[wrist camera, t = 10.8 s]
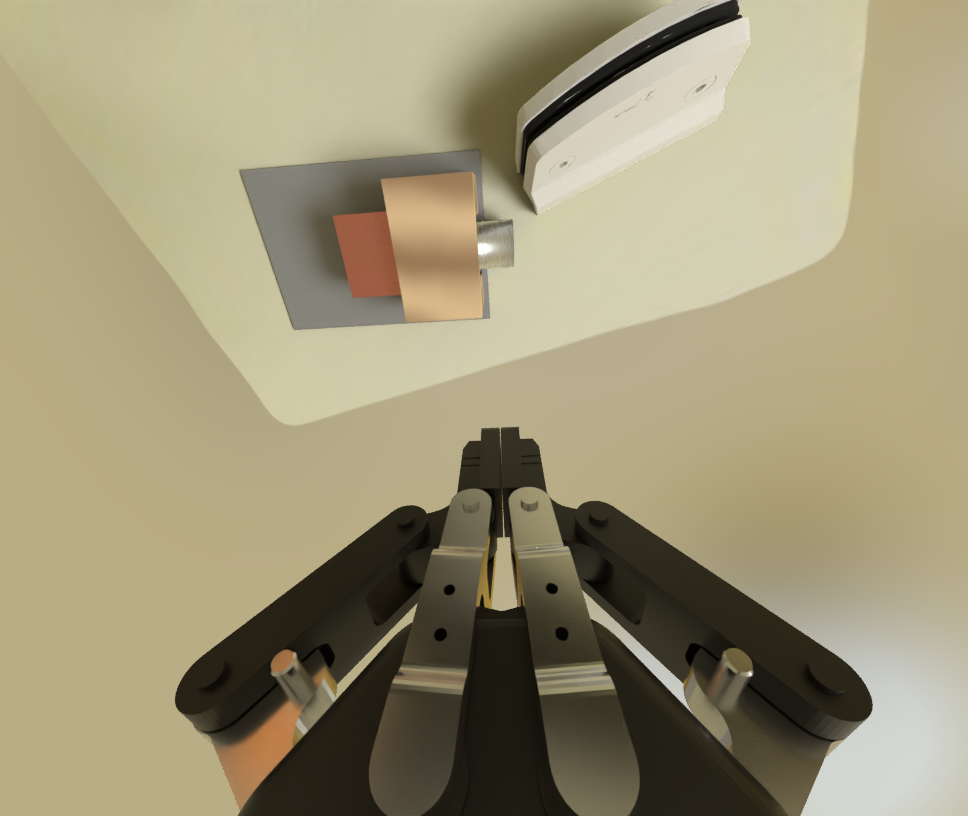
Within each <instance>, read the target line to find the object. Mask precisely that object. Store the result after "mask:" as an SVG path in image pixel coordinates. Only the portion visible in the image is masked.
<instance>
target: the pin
mask: <svg viewBox="0 0 968 816" xmlns="http://www.w3.org/2000/svg"><path fill="white" fill-rule="evenodd" d="M333 220H334V224H335V228H336V232H337V236H338V240H339V244H340V249H341V253H342V257H343V261H344V265H345V269H346V273H347V277H348V281H349V285H350V289H351V293H352V297H353V298H361V297H377V296H392V295H401V290H400V284H399V279H398V273H397V267H396V262H395V256H394V251H393V245H392V239H391V234H390V228H389V223H388V217H387V211H380V212H367V213H354V214H343V215H334V216H333ZM476 226H477V240H478V254H479V268H480V269H490V268H505V267H514V238H513V221H512V219H509V220H496V221H483V222H476Z"/></svg>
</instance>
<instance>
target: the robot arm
mask: <svg viewBox="0 0 968 816" xmlns="http://www.w3.org/2000/svg"><path fill="white" fill-rule="evenodd" d="M501 459H502V465H501ZM502 495H503V511H502ZM503 512H504V530H505V537H510V543H511V560H512V568H513V576H514V584H515V592H516V600H517V607H516V608H513V609H509V610H506V611H498V610H494V609H492V597H493V585H494V575H495V563H496V550H497V538H498V537H503ZM582 590H583V591H584V592H585V593H586V594H587V595H589V596H590V597H591V598H592V599H593V600H594V601H595V602H596V603H597V604H598V605H599V606H600V607H601V608H602V609H604V610H605V611H606V612H607V613H608V614H609V615H610V616H611V617H612V618H613V619H614V620H615V621H617V622H618V623H619V624H620V625H621V626H622V627H623V628H624V629H625V630H626V631H627V632H628V633H630V634H631V635H632V636H633V637H634V638H635V639H636V640H637V641H638V642H639V643H640V644H641V645H642V646H643V647H645V648H646V649H647V650H648V651H649V652H650V653H651V654H652V655H653V656H654V657H655V658H656V659H657V660H659V661H660V662H661V663H662V664H663V665H664V666H665V667H666V668H667V669H668V670H669V671H671V673H673V674H674V675H675V676H676V677H677V678H678V679H679V680H680V681H681V682H682V683H683V684H684V687H683V688H684V696H685V699H686V702H687V704H688V706H689V708H690V710H691V712H692V713H693V714H692V713H691V712H690V711H689V710H688V709H687V708H686V707H685V706H684V705H683V704H682V703H681V702H680V701H679V700H678V699H677V698H676V697H675V696H674V695H673V694H672V693H671V691H669V690H668V689H667V688H666V686H664V684H663V683H662V682H661V681H660V680H659V679H658V678H657V677H656V676H655V675H654V674H652V672H651V671H650V670H649V669H648V668H647V667H646V666H645V665H644V664H643V663H642V662H641V661H640V660H639V659H638V658H637V657H636V656H635V655H634V654H633V653H632V652H631V651H630V650H629V649H628V648H627V647H626V646H625V645H624V644H623V643H622V642H621V641H620V640H619V639H618V638H617V637H616V636H615V635H614V634H613V633H611V632H610V631H609V630H608V629H607V628H605V627H604V626H602V625H601V624H599V623H598V622H596V621H594V620H592V619H590V615H589V612H588V609H587V606H586V602H585V599H584V595H583V592H582ZM417 603H418V604H417ZM416 604H417V608H416V612H415V616H414V619H413V622H412V623H410V624H409V625H407V626H406V627H405V628H403V629H402V630H401V631H400V632H398V633H397V634H396V635H395V636H394V637H393V638H392V639H391V640H390V641H389V642H388V643H387V645H386V646H385V647H384V648H383V649H382V650H381V651H380V652H379V653H378V655H377V656H376V657H375V658H374V659H373V660H372V661H371V662H370V663H369V665H367V667H366V668H365V669H364V670H363V671H362V672H361V673H360V674H359V675H358V677H357V678H356V679H355V680H354V681H353V682H352V683H351V684H350V685H349V687H348V688H347V689H346V690H345V691H344V692H343V693H342V694H341V695H340V696H339V697H338V698H337V700H336V701H335V702H334V700H335V697H336V692H337V684H338V683H339V682H340V681H341V680H342V679H343V678H344V677H345V676H346V675H347V674H348V673H349V672H350V670H352V669H353V668H354V667H355V665H357V664H358V663H359V661H361V660H362V659H363V658H364V657H365V655H366V654H367V653H368V652H369V651H370V650H371V649H372V648H373V647H374V646H375V645H376V644H377V643H378V642H379V641H380V640H381V639H382V638H383V637H384V636H385V635H386V634H387V633H388V632H389V631H390V630H391V629H392V628H393V627H394V626H395V625H396V624H397V623H398V622H399V621H400V620H401V619H402V618H403V617H404V616H405V615H406V614H407V613H408V612H409V611H410V610H411V609H412V608H413V607H414V606H415V605H416ZM175 704H176V707H177V709H178V710H179V711H180V712H181V713H182V714H183V715H184V716H185V717H186V718H188V719H189V720H190V721H191V722H192V723H193V725H194V728H195V729H196V730H197V731H198V732H199V733H200V734H201V735H202V736H203V737H205V738H206V739H207V740H208V741H209V742H210V743H211V744H212V745H213V746H214V748H215V750H216V752H217V755H218V757H219V760H220V762H221V765H222V767H223V769H224V772H225V775H226V777H227V779H228V782H229V784H230V787H231V789H232V792H233V794H234V796H235V799H236V802H237V804H238V806H239V809H240V813H239V815H238V816H800V815H801V813H802V810H803V808H804V806H805V803H806V801H807V799H808V796H809V794H810V791H811V789H812V786H813V784H814V782H815V780H816V777H817V775H818V773H819V770H820V768H821V766H822V763H823V761H824V758H825V757H826V756H828V755H829V753H831V752H832V751H833V750H834V749H835V748H836V747H837V746H838V745H839V744H840V743H841V742H842V741H843V740H845V739H846V738H847V736H849V735H850V734H851V733H852V732H853V731H854V730H855V729H856V728H857V727H858V726H859V725H860V724H862V723H863V722H864V721H865V720H866V719H867V718H868V717H869V715H870V714H871V712H872V706H873V704H872V698H871V696H870V693H869V691H868V689H867V687H866V685H865V684H864V682H863V681H862V679H861V678H860V677H859V675H858V674H857V673H856V672H855V671H854V670H853V669H852V668H851V667H850V666H849V665H848V664H847V663H846V662H844V661H843V660H842V659H841V658H839V657H838V656H837V655H835V654H834V653H832V652H831V651H829V650H828V649H826V648H824V647H823V646H822V645H820V644H819V643H817V642H815V641H814V640H813V639H811V638H810V637H808V636H807V635H805V634H804V633H802V632H801V631H799V630H798V629H796V628H794V627H793V626H792V625H790V624H788V623H787V622H786V621H784V620H783V619H781V618H780V617H778V616H777V615H775V614H774V613H772V612H771V611H769V610H768V609H766V608H764V607H763V606H762V605H760V604H758V603H757V602H755V601H754V600H753V599H751V598H749V597H748V596H746V595H745V594H744V593H742V592H740V591H739V590H738V589H736V588H735V587H733V586H732V585H730V584H728V583H727V582H726V581H724V580H722V579H721V578H720V577H718V576H717V575H715V574H714V573H712V572H710V571H709V570H708V569H706V568H704V567H703V566H701V565H700V564H698V563H697V562H696V561H694V560H692V559H691V558H690V557H688V556H686V555H685V554H684V553H682V552H681V551H679V550H678V549H676V548H675V547H673V546H672V545H670V544H669V543H667V542H666V541H664V540H663V539H661V538H659V537H658V536H656V535H655V534H653V533H652V532H650V531H649V530H647V529H646V528H644V527H643V526H641V525H640V524H638V523H637V522H635V521H634V520H632V519H631V518H629V517H628V516H626V515H625V514H623V513H622V512H620V511H619V510H617V509H616V508H614V507H613V506H611V505H609V504H607V503H604V502H600V501H589V502H586V503H583V504H581V505H580V506H579V507H578V509H573V508H569V507H565V506H562V505H560V504H558V503H556V502H555V501H553V500H552V499H551V498H550V497H549V495H548V494H547V491H546V485H545V479H544V473H543V468H542V462H541V457H540V450H539V446H538V445H537V444H536V442H535V441H534V440H533V439H520V436H519V427H503V428H501V447H500V429H499V428H482V431H481V441H469V442H468V443H467V445H466V446H465V447H464V449H463V455H462V461H461V469H460V476H459V484H458V491H457V494H456V495H455V496H454V497H453V498H452V500H451V503H450V505H449V506H447V507H446V508H444V509H442V510H439V511H435V512H432V513H428V514H427V513H426V512H425V510H424V509H422V508H420V507H418V506H413V505H410V506H403V507H400V508H398V509H396V510H394V511H393V512H391V513H390V514H389V515H388V516H386V517H385V518H384V519H382V520H381V521H380V522H378V523H377V524H376V525H374V526H373V527H372V528H370V529H369V530H368V531H367V532H365V533H364V534H363V535H361V536H360V537H359V538H357V539H356V540H355V541H353V542H352V543H351V544H349V545H348V546H347V547H346V548H344V549H343V550H341V551H340V552H339V553H337V554H336V555H335V556H333V557H332V558H331V559H330V560H328V561H327V562H326V563H324V564H323V565H322V566H320V567H319V568H318V569H316V570H315V571H314V572H312V573H311V574H310V575H308V576H307V577H306V578H304V579H303V580H302V581H301V582H299V583H298V584H297V585H295V586H294V587H293V588H291V589H290V590H289V591H287V592H286V593H285V594H283V595H282V596H281V597H279V598H278V599H277V600H275V601H274V602H273V603H272V604H270V605H269V606H268V607H266V608H265V609H264V610H263V611H261V612H260V613H258V614H257V615H256V616H254V617H253V618H252V619H250V620H249V621H248V622H247V623H246V624H244V625H243V626H241V627H240V628H239V629H237V630H236V631H235V632H233V633H232V634H231V635H229V636H228V637H227V638H226V639H224V640H223V641H221V642H220V643H219V644H217V645H216V646H215V647H214V648H212V649H211V650H210V651H208V652H207V653H206V654H205V655H203V656H202V657H201V658H199V659H198V660H197V661H196V662H195V663H194V664H193V665H192V666H191V667H190V668H189V670H188V671H187V672H186V674H185V675H184V676H183V678H182V680H181V682H180V684H179V686H178V688H177V692H176V696H175Z"/></svg>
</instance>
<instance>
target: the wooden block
mask: <svg viewBox="0 0 968 816" xmlns="http://www.w3.org/2000/svg"><path fill="white" fill-rule="evenodd" d="M381 183H382V189H383V195H384V200H385V206H386V211H387V217H388V223H389V228H390V234H391V239H392V245H393V251H394V256H395V262H396V267H397V273H398V279H399V284H400V290H401V295H402V301H403V306H404V312H405V318H406V323H407V322H424V321H441V320H458V319H475V318H482V315H483V307H484V291H483V276H482V271H480V268H479V254H478V240H477V226H476V215H477V214H478V201H477V187H476V176H475V174H474V173H473V172H472V171H471V172H459V173H447V174H435V175H423V176H411V177H399V178H387V179H381Z"/></svg>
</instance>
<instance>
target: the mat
mask: <svg viewBox="0 0 968 816" xmlns="http://www.w3.org/2000/svg"><path fill="white" fill-rule="evenodd" d="M471 171H472V172H473V173H474V174H475V176H476V187H477V201H478V214H477V215H476V222H483V221H484V211H483V194H482V178H481V161H480V150H471V151H459V152H448V153H436V154H425V155H413V156H402V157H390V158H379V159H367V160H356V161H344V162H333V163H321V164H310V165H299V166H287V167H276V168H264V169H253V170H241V171H240V172H241V175H242V178H243V181H244V184H245V187H246V190H247V193H248V196H249V199H250V201H251V204H252V207H253V210H254V213H255V216H256V219H257V222H258V225H259V228H260V231H261V234H262V237H263V240H264V243H265V246H266V248H267V251H268V254H269V257H270V260H271V263H272V266H273V269H274V272H275V275H276V278H277V281H278V284H279V287H280V290H281V293H282V295H283V298H284V301H285V304H286V307H287V310H288V313H289V316H290V319H291V322H292V325H293V328H294V330H302V329H319V328H336V327H353V326H370V325H387V324H404V323H406V318H405V312H404V306H403V301H402V295H392V296H377V297H361V298H353V297H352V293H351V289H350V285H349V281H348V277H347V273H346V269H345V265H344V261H343V257H342V253H341V249H340V244H339V240H338V236H337V232H336V228H335V224H334V220H333V216H334V215H343V214H354V213H367V212H380V211H386V206H385V200H384V195H383V189H382V183H381V179H387V178H399V177H411V176H423V175H435V174H447V173H459V172H471ZM480 271H482V276H483V291H484V307H483V315H482V318H475V319H489V318H490V310H489V293H488V277H487V269H480ZM458 320H472V319H458ZM441 321H455V320H441ZM424 322H438V321H424ZM407 323H421V322H407Z"/></svg>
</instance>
